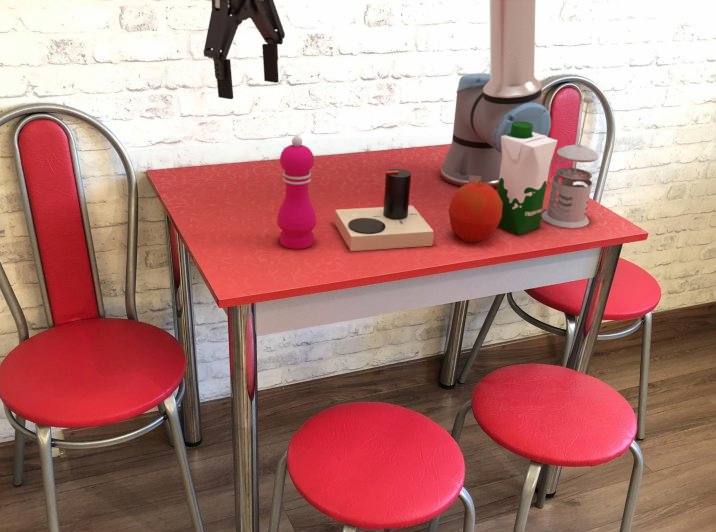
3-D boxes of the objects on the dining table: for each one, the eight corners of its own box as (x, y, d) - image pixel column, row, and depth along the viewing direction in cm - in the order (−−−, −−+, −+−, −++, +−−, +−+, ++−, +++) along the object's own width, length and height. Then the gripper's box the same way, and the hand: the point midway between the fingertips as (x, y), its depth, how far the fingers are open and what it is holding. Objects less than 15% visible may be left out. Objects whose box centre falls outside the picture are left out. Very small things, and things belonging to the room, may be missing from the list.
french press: (559, 230, 159) (584, 104, 146) (527, 209, 168) (547, 88, 155) (599, 224, 163) (626, 100, 150) (565, 204, 172) (588, 85, 159)
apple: (501, 249, 150) (510, 191, 144) (448, 247, 150) (455, 188, 144) (494, 228, 159) (502, 172, 153) (444, 225, 159) (450, 170, 153)
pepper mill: (310, 252, 145) (312, 144, 135) (272, 247, 146) (271, 140, 136) (320, 237, 151) (322, 132, 141) (283, 232, 152) (282, 128, 142)
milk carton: (512, 214, 166) (527, 117, 155) (546, 228, 160) (565, 129, 149) (484, 223, 161) (497, 125, 150) (519, 238, 155) (536, 137, 144)
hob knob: (403, 209, 157) (406, 166, 152) (410, 219, 153) (414, 175, 148) (380, 210, 156) (382, 167, 151) (387, 220, 152) (390, 176, 147)
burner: (379, 218, 153) (379, 216, 153) (389, 232, 147) (389, 231, 147) (344, 220, 151) (344, 218, 151) (353, 235, 146) (353, 233, 145)
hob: (411, 219, 161) (412, 204, 159) (432, 245, 150) (434, 230, 149) (334, 223, 157) (335, 208, 155) (350, 251, 147) (351, 235, 145)
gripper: (266, -50, 143) (272, 72, 154) (172, -35, 125) (187, 102, 136) (300, -47, 140) (305, 77, 151) (209, -32, 121) (222, 108, 133)
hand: (249, 89), depth 143 cm, fingers open, 13 cm apart
